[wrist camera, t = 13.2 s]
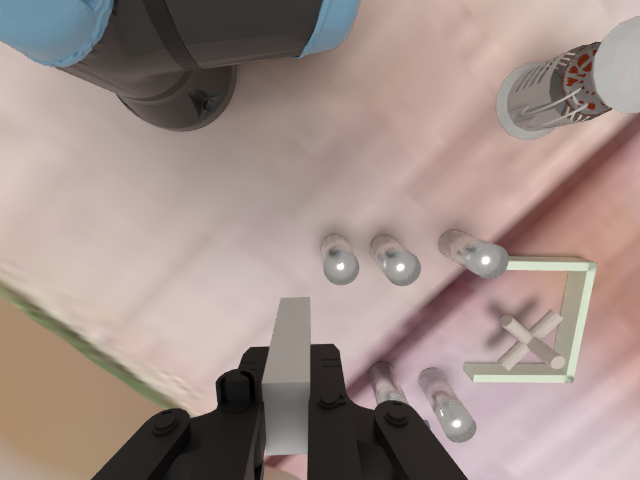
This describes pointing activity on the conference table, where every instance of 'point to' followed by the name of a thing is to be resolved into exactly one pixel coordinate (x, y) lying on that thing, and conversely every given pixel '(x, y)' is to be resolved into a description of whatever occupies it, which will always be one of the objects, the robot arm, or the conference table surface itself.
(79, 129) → the conference table surface
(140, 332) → the conference table surface
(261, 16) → the robot arm
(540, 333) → the beige rod cross
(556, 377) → the corral
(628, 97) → the french press
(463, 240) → the set of silver pegs
